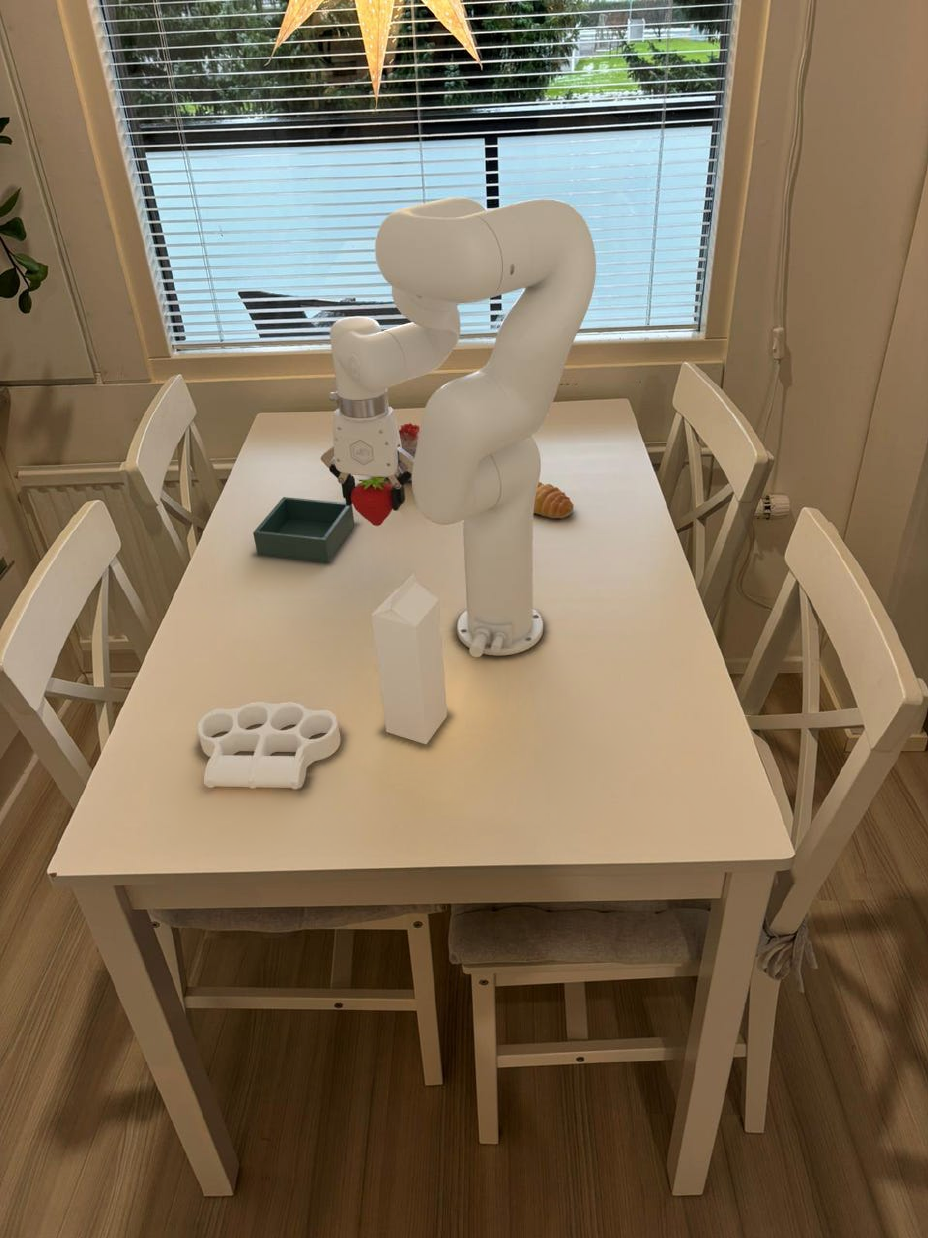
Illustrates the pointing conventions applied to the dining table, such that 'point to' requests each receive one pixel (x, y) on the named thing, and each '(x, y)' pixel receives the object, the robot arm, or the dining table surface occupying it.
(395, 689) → the milk
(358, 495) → the strawberry
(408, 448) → the food item
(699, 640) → the dining table surface
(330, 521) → the open box
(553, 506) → the pastry
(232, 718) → the white brass knuckles
